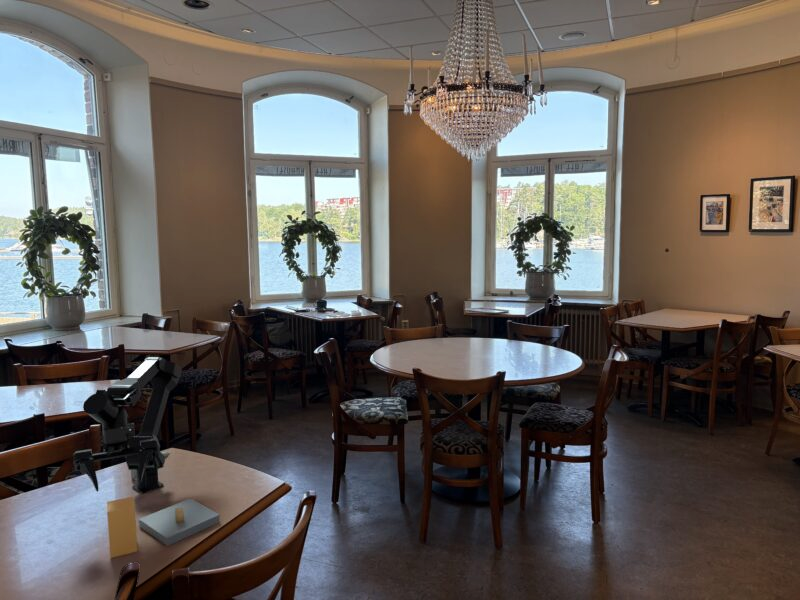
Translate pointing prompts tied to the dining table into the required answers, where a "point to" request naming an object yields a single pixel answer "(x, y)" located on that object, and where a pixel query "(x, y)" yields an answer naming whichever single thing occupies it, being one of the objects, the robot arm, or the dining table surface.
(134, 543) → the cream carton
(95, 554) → the dining table surface
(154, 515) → the terminal board
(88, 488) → the dining table surface
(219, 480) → the dining table surface
